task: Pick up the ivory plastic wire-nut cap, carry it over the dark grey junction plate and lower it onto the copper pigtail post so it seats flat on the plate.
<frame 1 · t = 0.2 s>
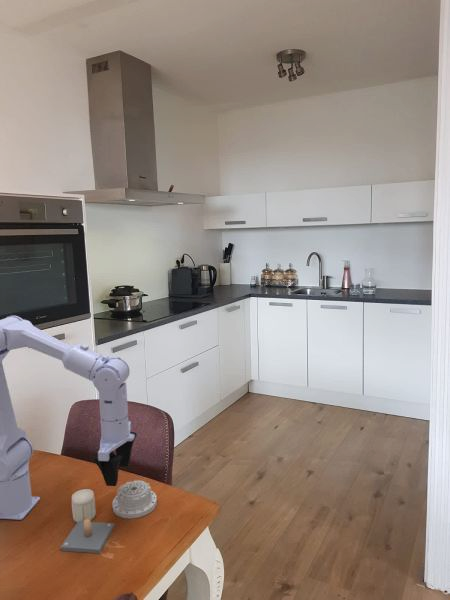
hand: (117, 475, 100), 10 cm above the table, fingers open, 7 cm apart
junction plate: (88, 538, 95), on the table
wire nut: (84, 515, 102), on the table
mechanical component: (135, 506, 106), on the table
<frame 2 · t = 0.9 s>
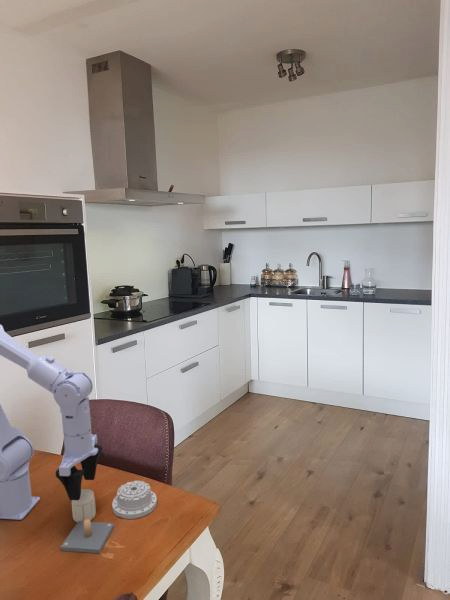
hand: (82, 488, 101), 7 cm above the table, fingers open, 7 cm apart
nothing on the table moved.
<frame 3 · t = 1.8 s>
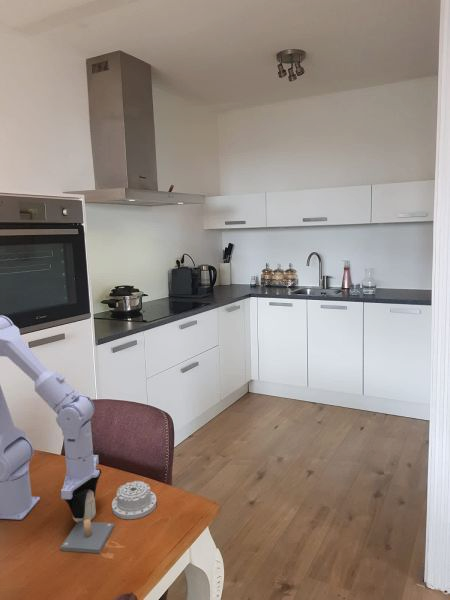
hand: (83, 509, 102), 1 cm above the table, fingers closed on wire nut, 5 cm apart
wire nut: (84, 515, 102), on the table, touching gripper
everything else where it was.
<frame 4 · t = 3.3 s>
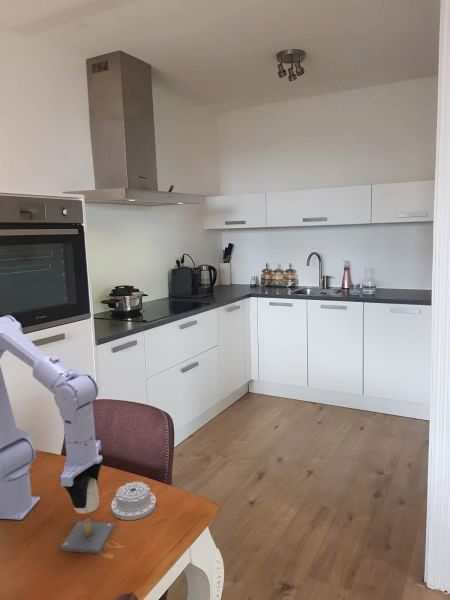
hand: (85, 499, 94), 8 cm above the table, fingers closed on wire nut, 5 cm apart
wire nut: (86, 506, 94), point 7 cm above the table, touching gripper
everything else where it was.
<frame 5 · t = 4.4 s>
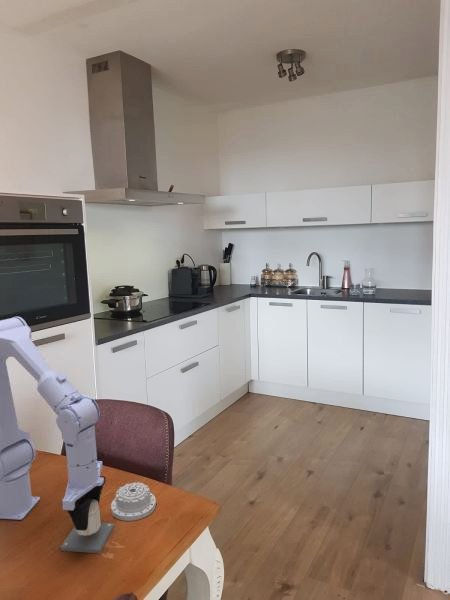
hand: (87, 520, 94), 4 cm above the table, fingers closed on wire nut, 5 cm apart
wire nut: (88, 527, 94), point 2 cm above the table, touching gripper
everything else where it was.
when the fingers open (4 cm above the table, at t = 4.9 s): wire nut drops 1 cm, resting on junction plate.
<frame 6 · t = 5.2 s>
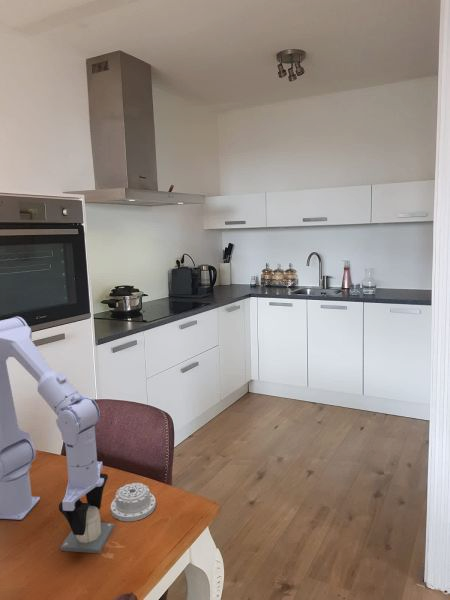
hand: (87, 521, 94), 4 cm above the table, fingers open, 7 cm apart
wire nut: (88, 534, 95), point 1 cm above the table, touching junction plate
everything else where it was.
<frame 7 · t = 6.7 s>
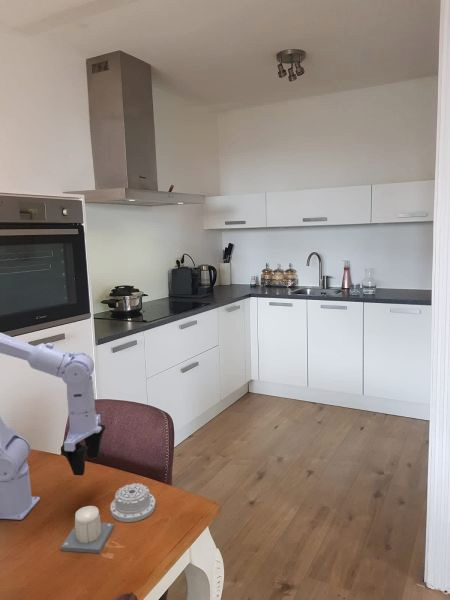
hand: (86, 465, 105), 9 cm above the table, fingers open, 7 cm apart
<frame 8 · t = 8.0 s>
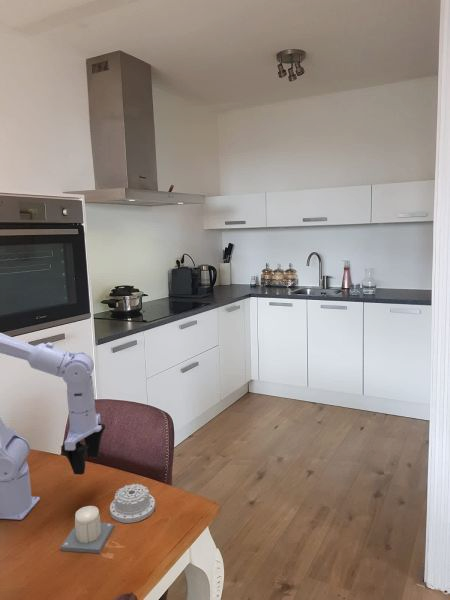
hand: (86, 464, 106), 9 cm above the table, fingers open, 7 cm apart
at the end: wire nut 0.1 cm off-centre on the junction plate, point 0.8 cm above the junction plate's base; wire nut tilted 0°; the gripper is holding nothing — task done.
